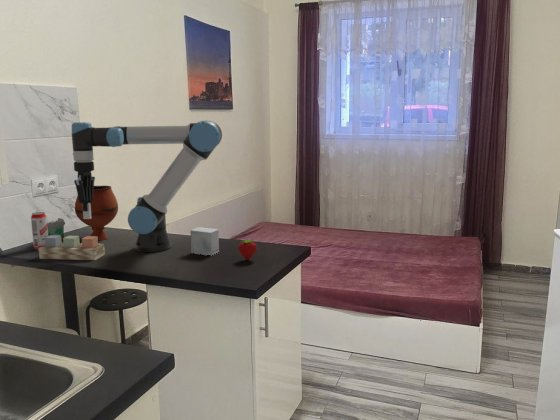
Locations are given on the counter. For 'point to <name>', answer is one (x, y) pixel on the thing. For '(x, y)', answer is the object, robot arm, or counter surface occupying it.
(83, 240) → the terracotta button
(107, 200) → the goblet
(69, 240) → the sage-green button
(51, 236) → the light blue block
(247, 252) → the strawberry
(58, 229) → the food container
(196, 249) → the skincare box
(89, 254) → the button panel
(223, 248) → the counter surface
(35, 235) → the beer can
